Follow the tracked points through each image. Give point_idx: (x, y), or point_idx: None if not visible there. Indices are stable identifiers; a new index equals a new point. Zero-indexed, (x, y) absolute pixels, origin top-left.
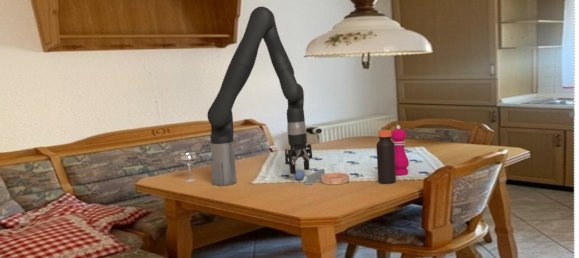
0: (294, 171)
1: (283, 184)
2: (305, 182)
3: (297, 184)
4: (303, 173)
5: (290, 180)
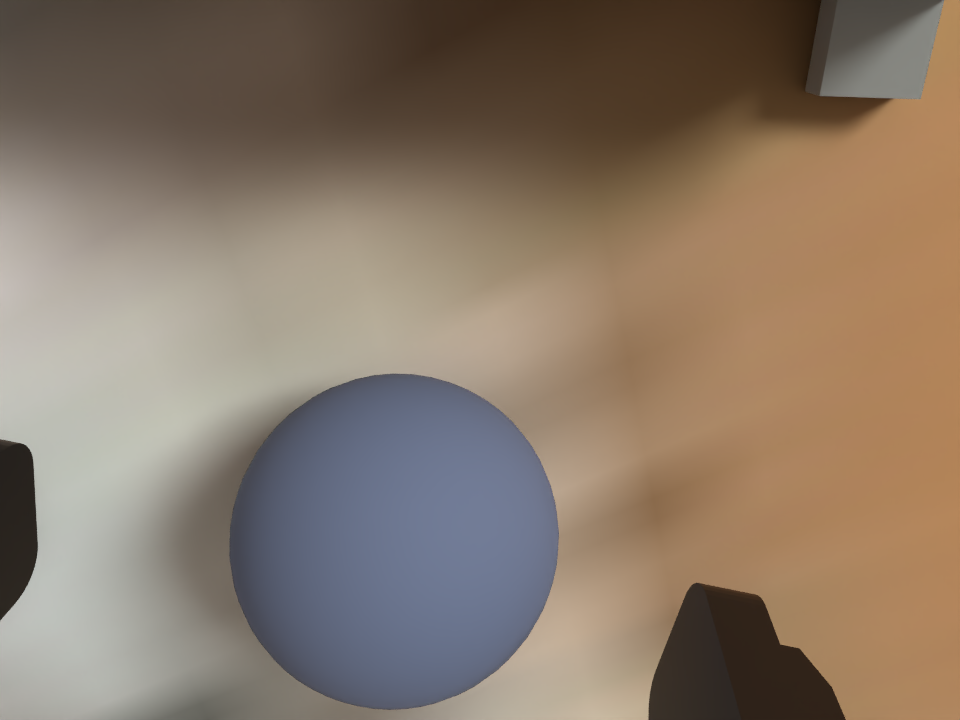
0: (782, 655)
1: (912, 611)
2: (850, 83)
3: (898, 294)
4: (381, 426)
5: None
